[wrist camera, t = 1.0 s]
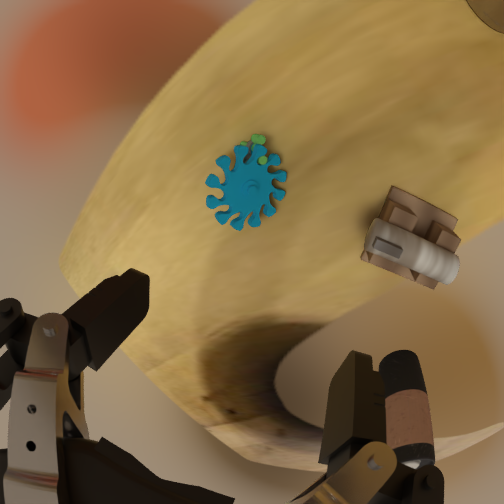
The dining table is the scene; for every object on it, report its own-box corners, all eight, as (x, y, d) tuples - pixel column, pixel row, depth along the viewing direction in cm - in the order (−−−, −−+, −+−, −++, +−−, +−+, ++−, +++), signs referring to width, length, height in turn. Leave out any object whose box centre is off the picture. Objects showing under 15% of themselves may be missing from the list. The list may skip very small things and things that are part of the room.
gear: (274, 236, 35) (198, 228, 29) (250, 218, 39) (182, 209, 33) (303, 150, 31) (228, 124, 25) (275, 142, 35) (206, 120, 29)
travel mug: (427, 351, 37) (447, 457, 20) (407, 381, 40) (415, 479, 23) (388, 345, 38) (396, 458, 21) (370, 375, 42) (368, 480, 24)
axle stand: (350, 252, 34) (353, 285, 27) (380, 180, 30) (395, 196, 23) (422, 282, 33) (437, 317, 26) (455, 217, 28) (482, 242, 21)
